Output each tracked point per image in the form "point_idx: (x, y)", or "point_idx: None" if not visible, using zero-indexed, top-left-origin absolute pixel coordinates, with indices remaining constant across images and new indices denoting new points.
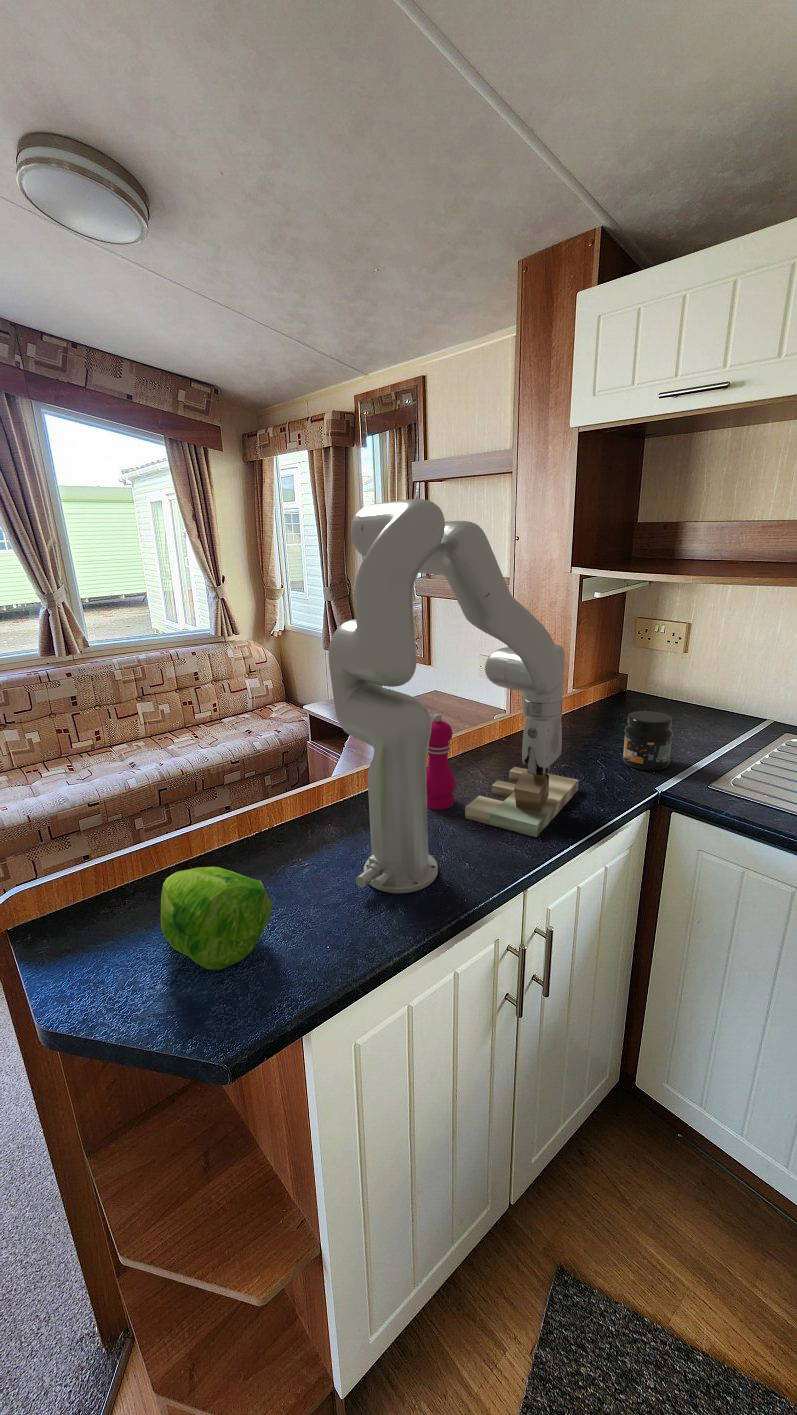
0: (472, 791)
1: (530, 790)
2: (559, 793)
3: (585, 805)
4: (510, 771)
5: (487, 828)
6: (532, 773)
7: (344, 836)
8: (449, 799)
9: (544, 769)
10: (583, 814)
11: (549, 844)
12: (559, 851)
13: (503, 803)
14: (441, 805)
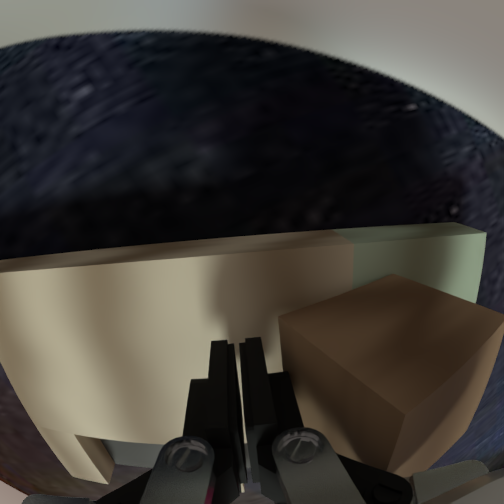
0: (249, 491)
1: (488, 370)
2: (121, 293)
3: (77, 168)
4: (106, 481)
5: None
6: (479, 466)
7: (487, 458)
8: None
9: (316, 495)
10: (165, 131)
11: (469, 165)
12: (482, 124)
13: None
14: None
